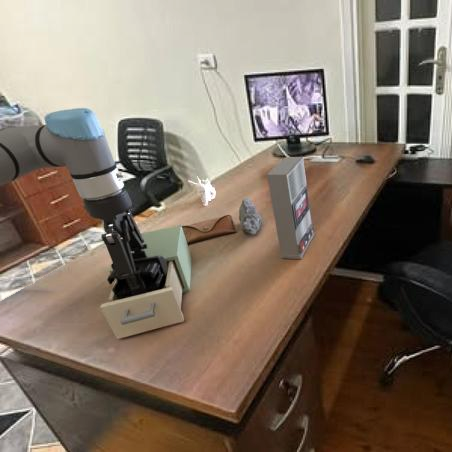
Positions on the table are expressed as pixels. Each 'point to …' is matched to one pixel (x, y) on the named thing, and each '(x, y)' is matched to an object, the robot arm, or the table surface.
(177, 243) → the cabinet
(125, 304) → the drawer
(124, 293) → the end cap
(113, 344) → the table surface
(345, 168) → the table surface
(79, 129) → the robot arm
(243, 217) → the mineral rock
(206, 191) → the white figurine
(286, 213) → the cassette tape recorder
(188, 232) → the sunglasses case
